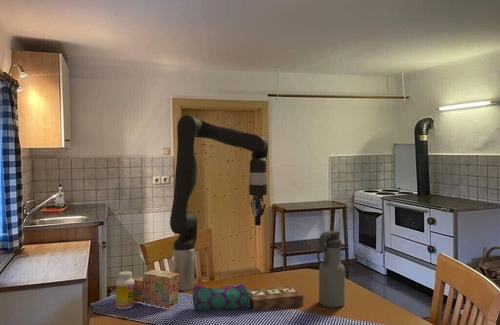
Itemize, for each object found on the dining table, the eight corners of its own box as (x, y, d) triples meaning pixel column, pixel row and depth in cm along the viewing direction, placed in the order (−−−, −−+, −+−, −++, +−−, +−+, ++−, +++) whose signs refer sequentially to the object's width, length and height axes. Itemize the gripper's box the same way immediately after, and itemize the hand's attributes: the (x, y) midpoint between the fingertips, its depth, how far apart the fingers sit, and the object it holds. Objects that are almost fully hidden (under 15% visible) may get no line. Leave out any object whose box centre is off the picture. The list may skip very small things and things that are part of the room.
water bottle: (329, 310, 141) (329, 234, 141) (313, 301, 149) (313, 230, 150) (349, 305, 145) (350, 233, 146) (333, 297, 154) (333, 229, 155)
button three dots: (254, 301, 143) (254, 294, 143) (250, 298, 147) (250, 290, 147) (264, 300, 144) (265, 293, 145) (261, 297, 149) (261, 289, 149)
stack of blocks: (123, 301, 148) (124, 270, 148) (134, 296, 154) (135, 266, 154) (168, 310, 139) (169, 277, 139) (178, 305, 145) (179, 273, 145)
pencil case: (246, 303, 147) (246, 278, 147) (250, 311, 138) (250, 285, 139) (192, 306, 143) (192, 281, 143) (193, 315, 134) (193, 288, 135)
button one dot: (270, 300, 145) (270, 293, 145) (266, 296, 149) (266, 289, 149) (280, 299, 146) (280, 292, 146) (276, 295, 151) (276, 288, 151)
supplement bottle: (128, 311, 138) (128, 275, 138) (111, 309, 139) (112, 274, 140) (137, 304, 145) (137, 270, 145) (121, 303, 146) (122, 269, 146)
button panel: (253, 311, 139) (253, 300, 139) (244, 300, 151) (244, 290, 151) (303, 305, 145) (303, 295, 145) (290, 295, 156) (290, 285, 157)
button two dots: (285, 298, 147) (285, 291, 147) (281, 295, 151) (281, 288, 151) (296, 297, 148) (296, 290, 148) (291, 294, 152) (291, 287, 153)
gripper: (244, 183, 162) (244, 223, 162) (254, 184, 150) (253, 228, 149) (261, 182, 165) (261, 222, 164) (272, 184, 152) (271, 227, 152)
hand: (257, 225), depth 157 cm, fingers closed
